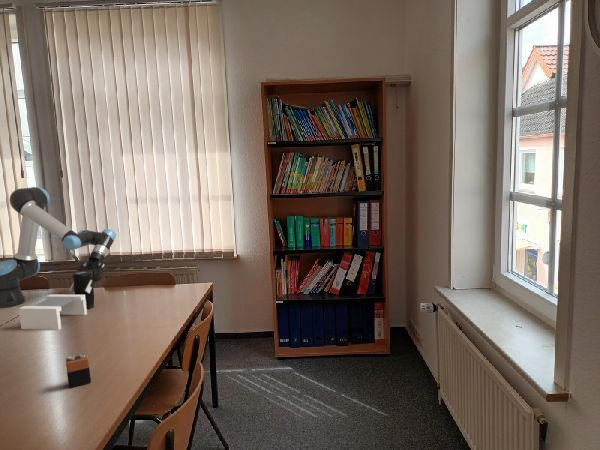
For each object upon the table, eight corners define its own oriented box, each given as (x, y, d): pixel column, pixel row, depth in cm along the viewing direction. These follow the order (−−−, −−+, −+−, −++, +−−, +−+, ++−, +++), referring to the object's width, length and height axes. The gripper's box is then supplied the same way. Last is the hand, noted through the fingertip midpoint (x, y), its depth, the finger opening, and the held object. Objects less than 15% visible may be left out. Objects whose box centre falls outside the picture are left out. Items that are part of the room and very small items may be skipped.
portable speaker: (92, 309, 240) (88, 273, 237) (73, 311, 239) (69, 274, 236) (97, 304, 248) (94, 269, 246) (80, 305, 248) (75, 270, 245)
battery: (68, 383, 159) (65, 356, 158) (89, 378, 163) (86, 351, 161) (69, 388, 156) (65, 360, 154) (91, 383, 159) (88, 355, 158)
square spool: (52, 313, 237) (50, 294, 236) (87, 313, 234) (85, 294, 233) (21, 329, 215) (18, 308, 214) (58, 329, 213) (56, 308, 211)
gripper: (118, 259, 252) (100, 296, 239) (86, 258, 258) (67, 293, 246) (111, 251, 246) (92, 289, 233) (78, 250, 253) (58, 286, 240)
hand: (79, 291), depth 240 cm, fingers closed on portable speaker, 9 cm apart
